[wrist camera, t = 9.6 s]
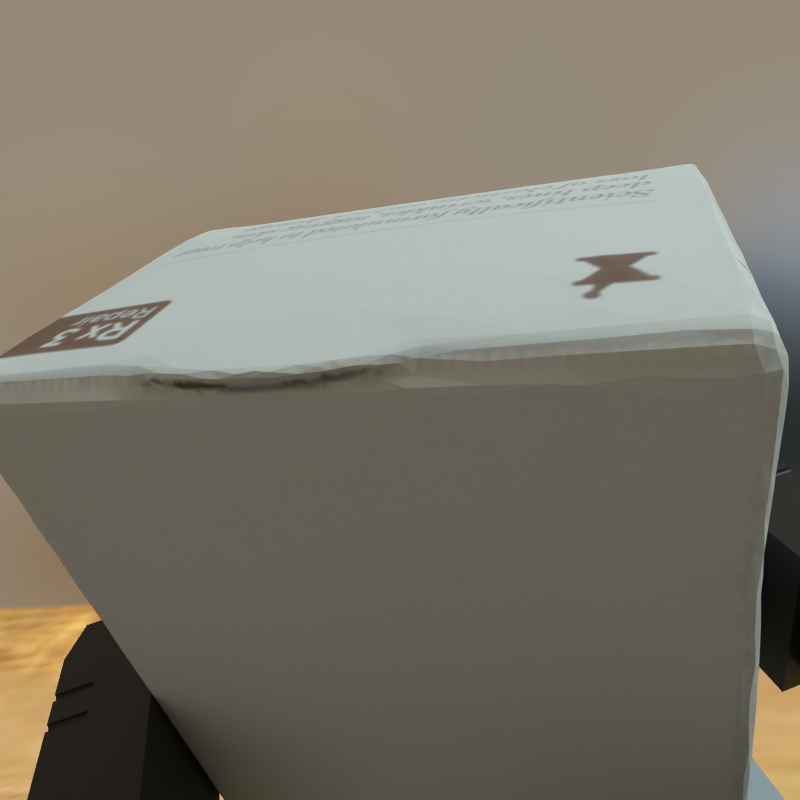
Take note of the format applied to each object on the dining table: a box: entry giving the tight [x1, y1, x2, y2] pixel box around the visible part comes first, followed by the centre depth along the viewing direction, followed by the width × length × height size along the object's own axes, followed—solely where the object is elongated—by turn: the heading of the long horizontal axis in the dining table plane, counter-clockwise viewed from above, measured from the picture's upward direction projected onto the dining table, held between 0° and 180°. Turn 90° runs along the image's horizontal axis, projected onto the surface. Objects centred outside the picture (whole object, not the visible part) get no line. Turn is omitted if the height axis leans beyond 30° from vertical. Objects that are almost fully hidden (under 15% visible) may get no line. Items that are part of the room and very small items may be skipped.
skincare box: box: [0, 164, 789, 800], centre depth 8 cm, size 6×4×12 cm
